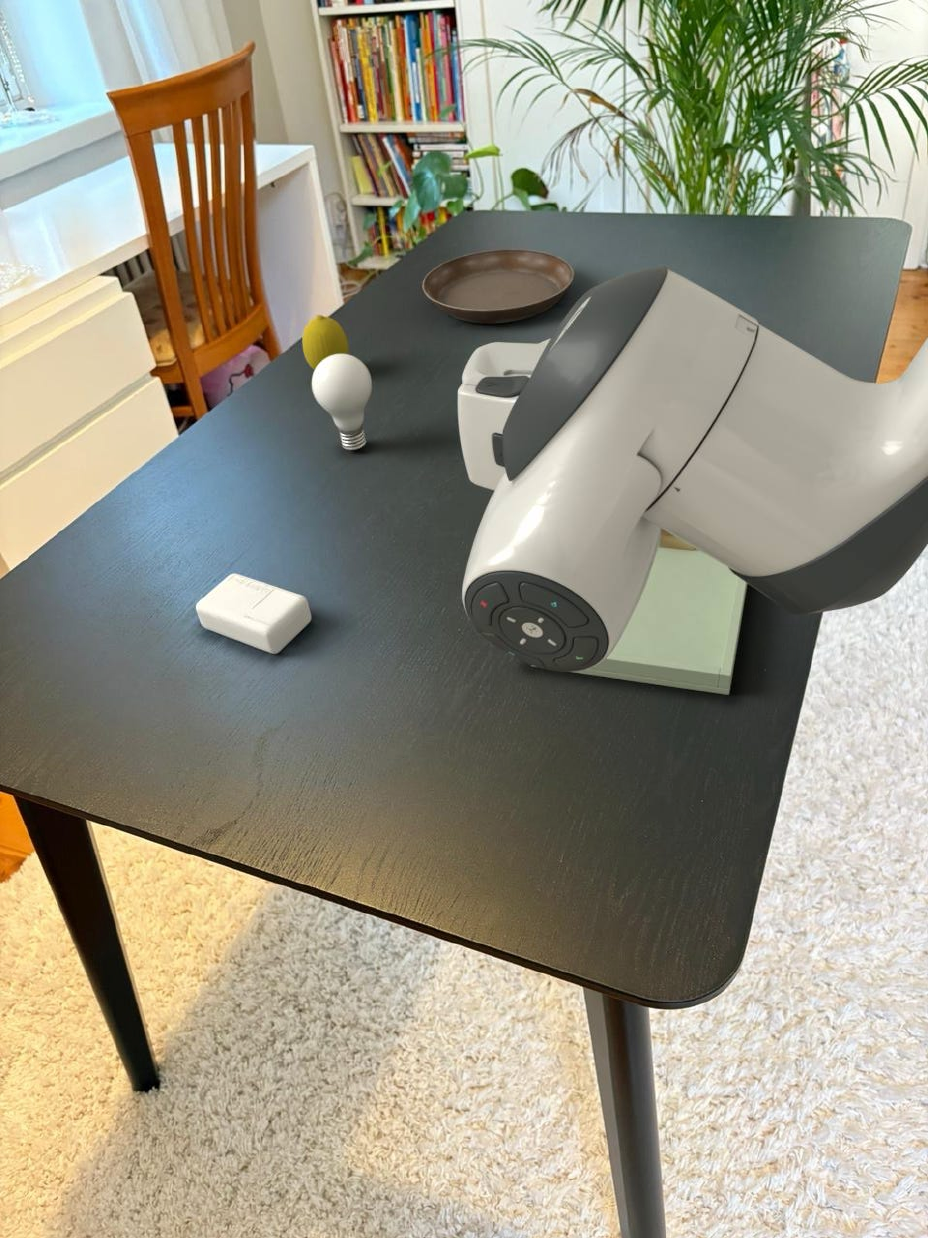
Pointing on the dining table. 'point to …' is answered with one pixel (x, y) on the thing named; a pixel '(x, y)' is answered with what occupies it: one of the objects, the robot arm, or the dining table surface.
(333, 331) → the lemon
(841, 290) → the dining table surface
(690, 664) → the tray
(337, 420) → the lightbulb
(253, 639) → the soap
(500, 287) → the plant saucer
